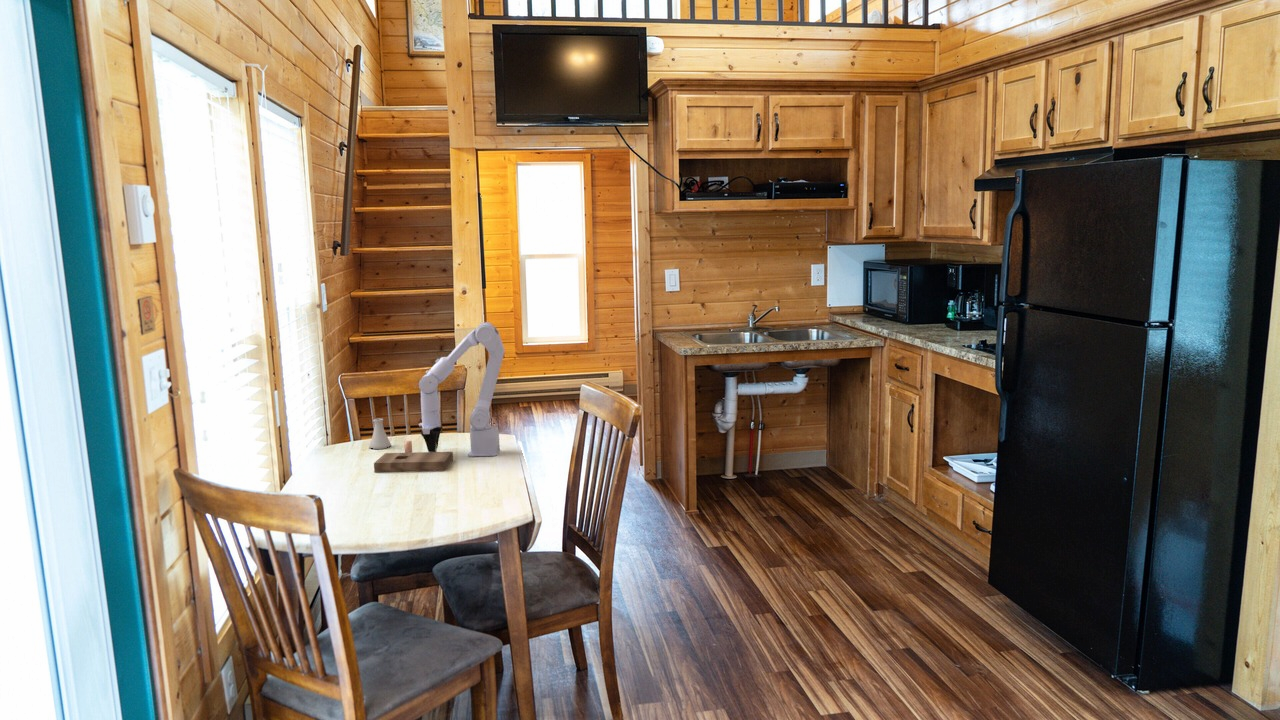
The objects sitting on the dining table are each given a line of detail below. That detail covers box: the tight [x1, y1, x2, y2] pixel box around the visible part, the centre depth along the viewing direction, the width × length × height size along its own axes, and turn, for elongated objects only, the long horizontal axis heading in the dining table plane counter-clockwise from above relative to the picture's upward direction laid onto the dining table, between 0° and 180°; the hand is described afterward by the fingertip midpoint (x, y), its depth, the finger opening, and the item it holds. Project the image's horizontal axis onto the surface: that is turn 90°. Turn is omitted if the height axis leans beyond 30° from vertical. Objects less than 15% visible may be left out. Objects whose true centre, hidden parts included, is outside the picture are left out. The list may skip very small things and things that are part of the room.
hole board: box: [373, 451, 454, 473], centre depth 267 cm, size 22×12×3 cm, turn 90°
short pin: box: [403, 440, 413, 453], centre depth 282 cm, size 2×2×4 cm
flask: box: [368, 418, 392, 450], centre depth 292 cm, size 7×7×10 cm
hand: (432, 450), depth 279 cm, fingers closed on tall pin, 2 cm apart
